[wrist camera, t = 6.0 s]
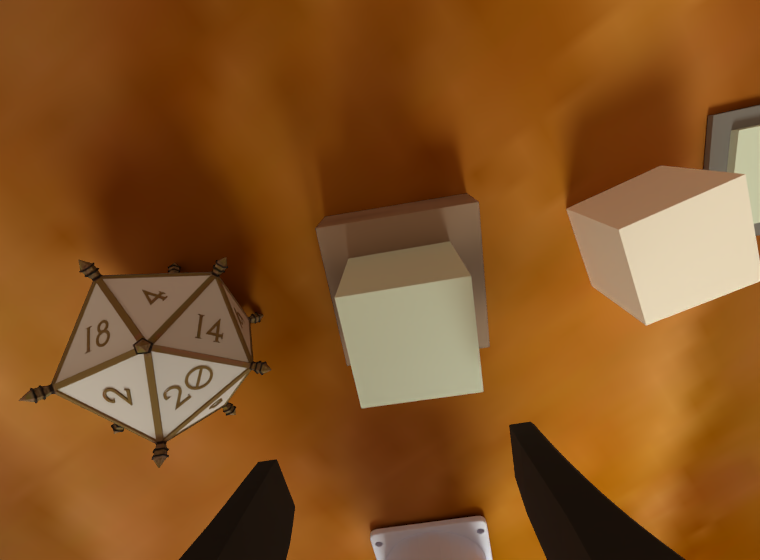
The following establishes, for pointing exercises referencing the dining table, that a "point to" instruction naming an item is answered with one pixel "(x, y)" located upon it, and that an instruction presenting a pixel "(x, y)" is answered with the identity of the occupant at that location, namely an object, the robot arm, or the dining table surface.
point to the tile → (737, 150)
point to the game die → (155, 352)
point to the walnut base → (407, 242)
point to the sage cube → (410, 325)
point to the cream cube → (668, 240)
